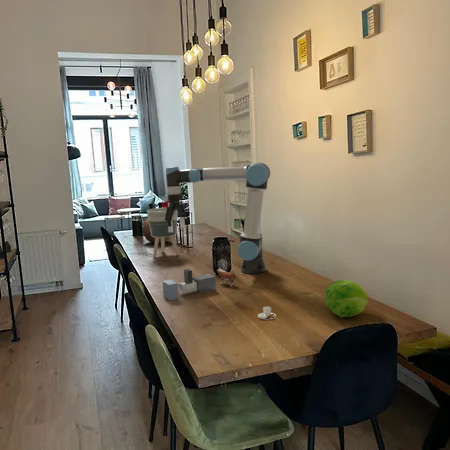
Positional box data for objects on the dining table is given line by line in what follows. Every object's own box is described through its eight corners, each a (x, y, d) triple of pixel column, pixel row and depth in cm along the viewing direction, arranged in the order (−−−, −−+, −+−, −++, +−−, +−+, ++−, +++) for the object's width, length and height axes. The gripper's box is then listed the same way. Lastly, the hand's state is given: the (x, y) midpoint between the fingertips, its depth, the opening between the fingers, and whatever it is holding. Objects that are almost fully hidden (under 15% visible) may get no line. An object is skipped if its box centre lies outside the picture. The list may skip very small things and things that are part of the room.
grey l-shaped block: (208, 285, 234) (207, 265, 232) (212, 287, 230) (211, 266, 228) (179, 291, 225) (178, 270, 224) (183, 293, 221) (181, 272, 220)
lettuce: (376, 321, 185) (383, 287, 182) (338, 326, 177) (344, 290, 174) (350, 305, 200) (356, 274, 197) (314, 309, 192) (319, 276, 188)
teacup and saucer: (261, 321, 185) (261, 312, 184) (253, 315, 192) (252, 307, 192) (279, 318, 189) (279, 309, 188) (270, 312, 196) (270, 303, 195)
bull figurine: (220, 281, 246) (219, 267, 244) (237, 285, 236) (237, 270, 235) (214, 282, 243) (213, 268, 241) (231, 287, 233) (231, 272, 232)
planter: (185, 255, 314) (183, 209, 308) (158, 260, 302) (154, 212, 296) (171, 250, 331) (168, 206, 326) (145, 255, 319) (141, 209, 314)
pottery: (144, 241, 372) (142, 211, 368) (172, 239, 375) (170, 210, 371) (142, 246, 350) (140, 215, 346) (171, 244, 352) (169, 213, 348)
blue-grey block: (171, 294, 225) (170, 279, 224) (178, 298, 218) (177, 283, 217) (163, 296, 223) (162, 281, 222) (170, 300, 216) (169, 284, 215)
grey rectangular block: (209, 286, 236) (208, 273, 235) (216, 290, 230) (215, 276, 229) (192, 290, 231) (192, 276, 230) (199, 293, 225) (198, 279, 224)
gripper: (179, 191, 266) (182, 226, 269) (156, 196, 244) (159, 233, 247) (190, 191, 263) (192, 226, 266) (168, 195, 241) (171, 233, 244)
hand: (177, 230), depth 257 cm, fingers open, 13 cm apart
